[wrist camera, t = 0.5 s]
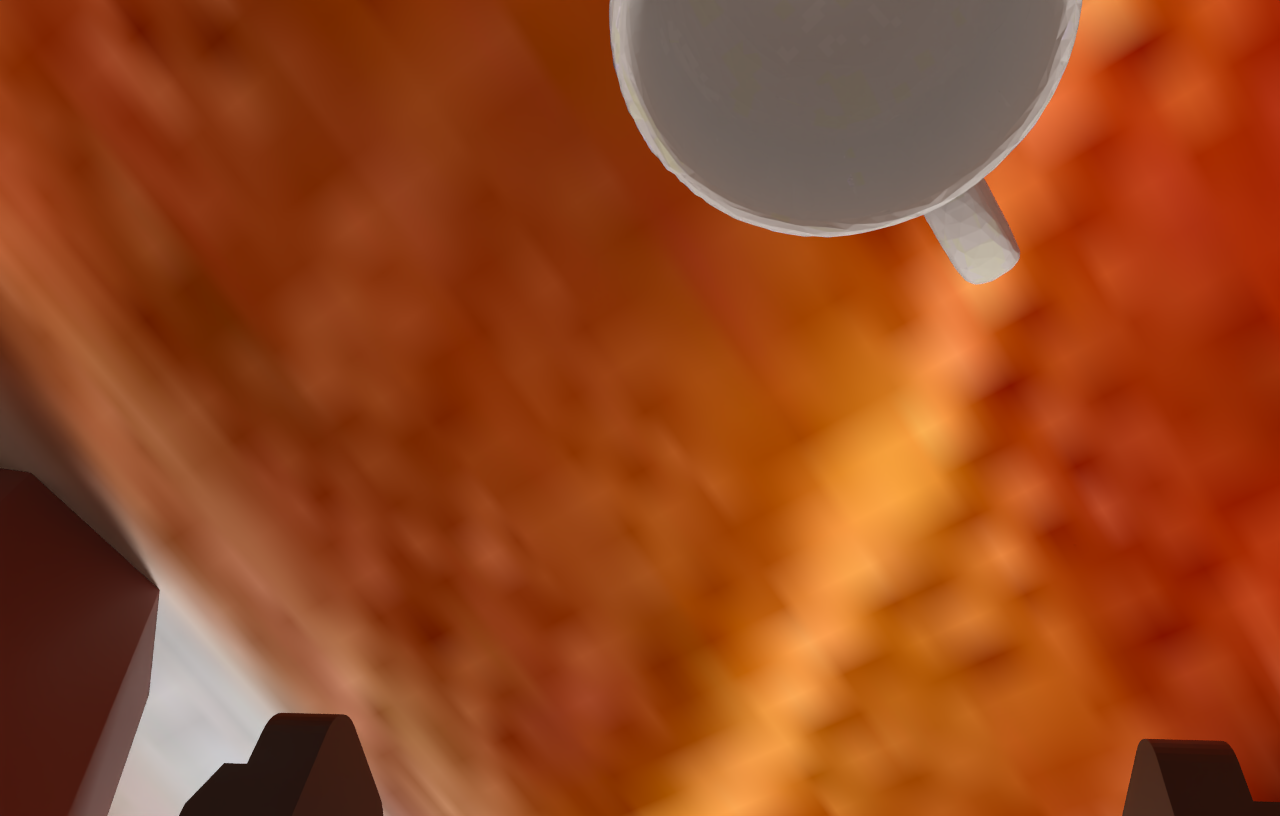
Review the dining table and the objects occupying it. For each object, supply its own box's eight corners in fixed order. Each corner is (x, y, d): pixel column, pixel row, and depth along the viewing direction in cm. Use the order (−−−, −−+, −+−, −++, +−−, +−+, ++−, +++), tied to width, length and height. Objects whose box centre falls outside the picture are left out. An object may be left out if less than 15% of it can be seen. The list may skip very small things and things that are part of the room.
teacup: (582, -157, 32) (526, -99, 26) (966, -353, 29) (1015, -343, 22) (766, 259, 39) (759, 389, 32) (1098, 140, 35) (1165, 261, 29)
